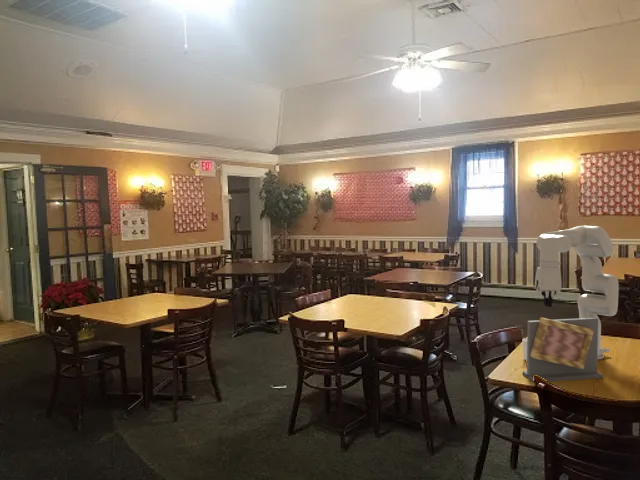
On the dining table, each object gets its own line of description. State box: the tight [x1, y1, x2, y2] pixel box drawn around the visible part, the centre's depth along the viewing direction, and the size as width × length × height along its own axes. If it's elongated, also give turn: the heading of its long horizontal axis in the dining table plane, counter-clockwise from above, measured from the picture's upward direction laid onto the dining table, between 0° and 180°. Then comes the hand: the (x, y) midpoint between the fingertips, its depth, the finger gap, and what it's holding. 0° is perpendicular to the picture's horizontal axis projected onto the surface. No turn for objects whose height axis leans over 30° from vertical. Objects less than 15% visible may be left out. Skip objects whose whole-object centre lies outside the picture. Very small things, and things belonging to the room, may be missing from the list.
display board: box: [522, 317, 604, 382], centre depth 222 cm, size 32×10×26 cm, turn 95°
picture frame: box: [530, 317, 594, 369], centre depth 218 cm, size 24×3×18 cm, turn 95°
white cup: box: [522, 337, 527, 362], centre depth 246 cm, size 8×8×10 cm
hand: (548, 306), depth 216 cm, fingers closed
